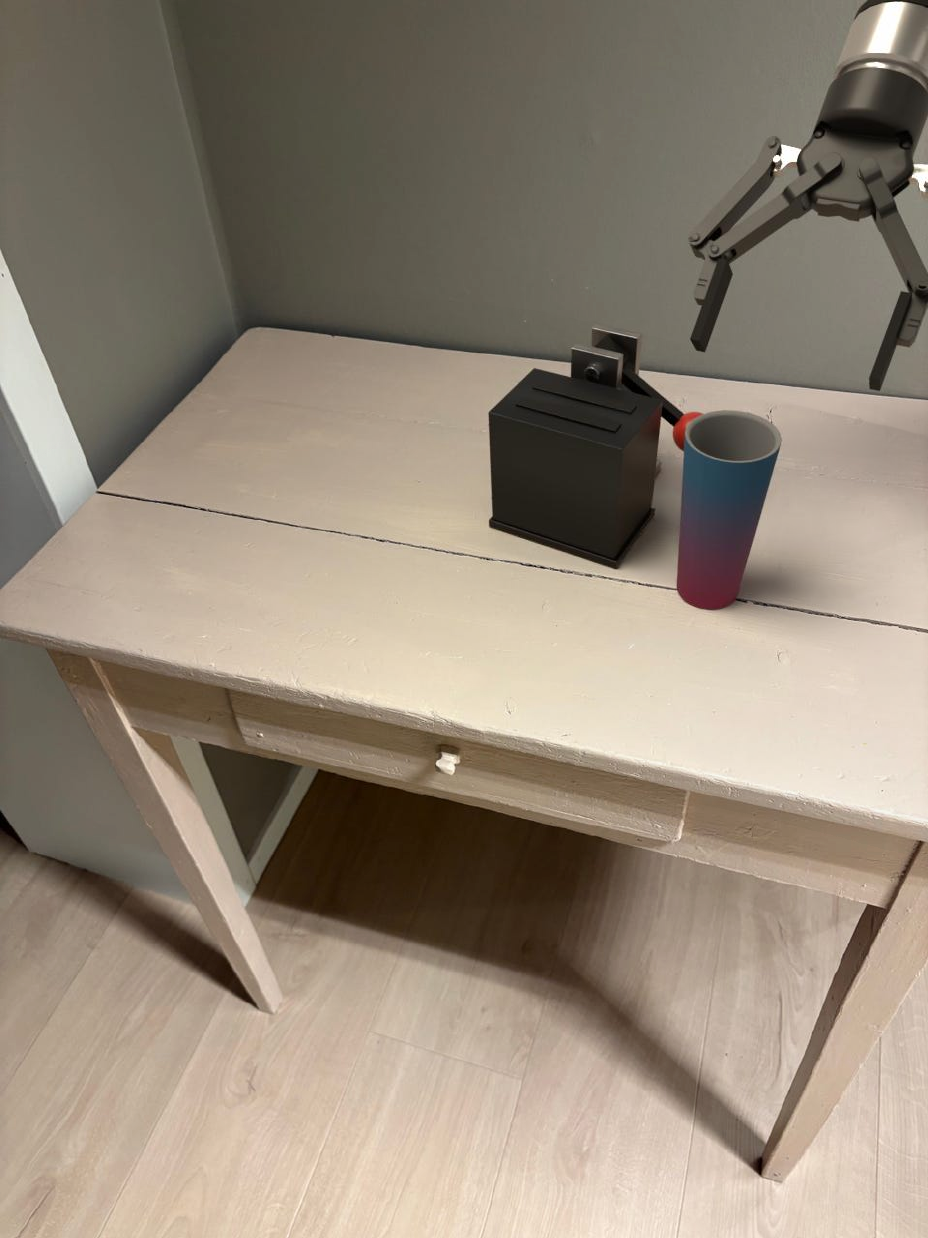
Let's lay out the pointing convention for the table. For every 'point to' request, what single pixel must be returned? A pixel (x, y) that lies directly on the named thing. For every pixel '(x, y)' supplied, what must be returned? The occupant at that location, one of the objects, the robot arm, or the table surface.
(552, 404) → the toaster
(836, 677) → the table surface
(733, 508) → the cup
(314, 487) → the table surface
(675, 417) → the lever
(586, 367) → the bracket
